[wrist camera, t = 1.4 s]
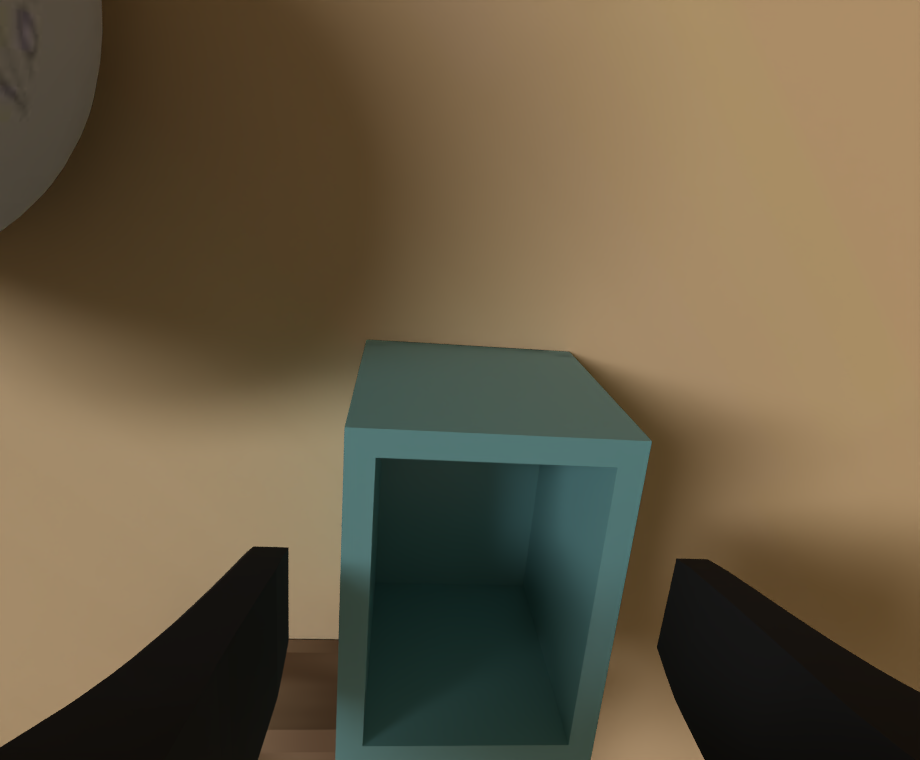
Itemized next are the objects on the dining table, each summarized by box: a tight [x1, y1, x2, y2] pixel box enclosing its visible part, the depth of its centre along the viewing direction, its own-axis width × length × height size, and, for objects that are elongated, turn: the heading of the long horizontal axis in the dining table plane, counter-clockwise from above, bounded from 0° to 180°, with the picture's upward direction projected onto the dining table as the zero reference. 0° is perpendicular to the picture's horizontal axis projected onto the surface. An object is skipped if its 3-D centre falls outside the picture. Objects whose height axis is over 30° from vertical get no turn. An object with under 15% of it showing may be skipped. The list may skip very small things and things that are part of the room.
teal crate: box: [335, 340, 652, 760], centre depth 14 cm, size 5×7×6 cm
